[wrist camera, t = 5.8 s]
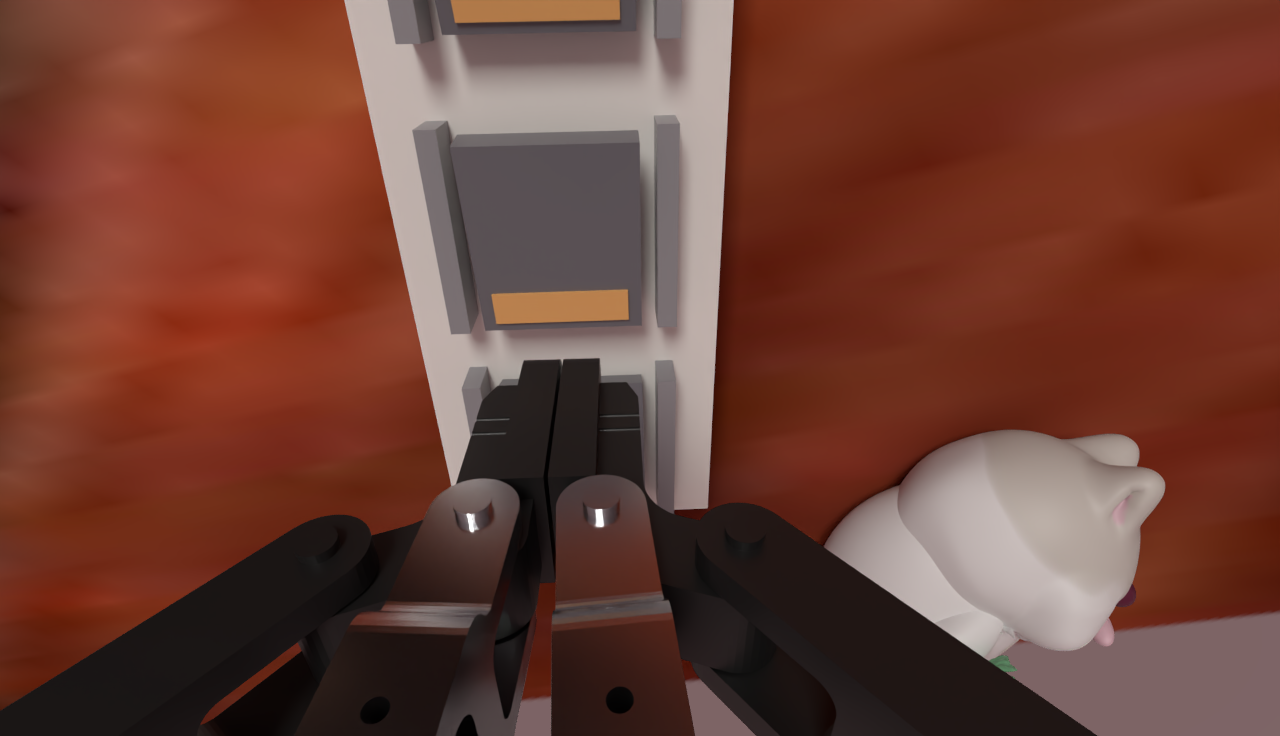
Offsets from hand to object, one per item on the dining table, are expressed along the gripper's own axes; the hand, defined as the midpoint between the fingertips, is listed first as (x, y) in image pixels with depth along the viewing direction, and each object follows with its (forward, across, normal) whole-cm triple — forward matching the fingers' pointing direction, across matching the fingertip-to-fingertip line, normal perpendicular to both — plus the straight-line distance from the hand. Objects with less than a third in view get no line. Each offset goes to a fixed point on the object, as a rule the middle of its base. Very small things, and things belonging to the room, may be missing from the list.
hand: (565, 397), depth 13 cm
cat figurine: (+12, -16, +14) cm, 24 cm away
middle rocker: (+7, +1, -1) cm, 7 cm away
